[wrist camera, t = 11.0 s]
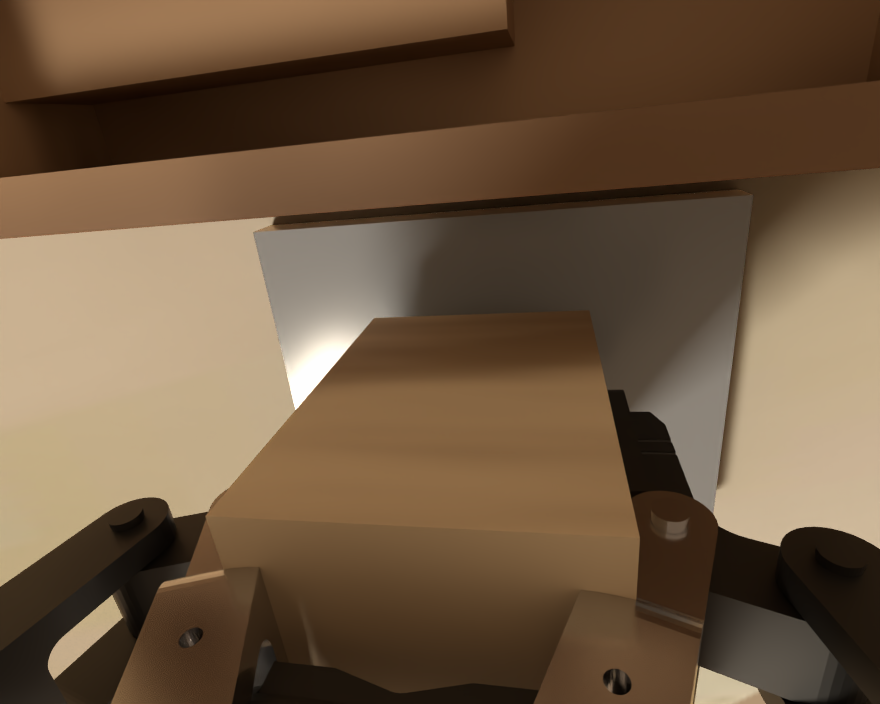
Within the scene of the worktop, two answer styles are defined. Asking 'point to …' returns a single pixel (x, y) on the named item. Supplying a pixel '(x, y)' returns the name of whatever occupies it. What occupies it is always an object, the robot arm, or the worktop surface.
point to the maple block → (440, 502)
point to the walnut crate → (414, 102)
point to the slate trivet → (539, 292)
